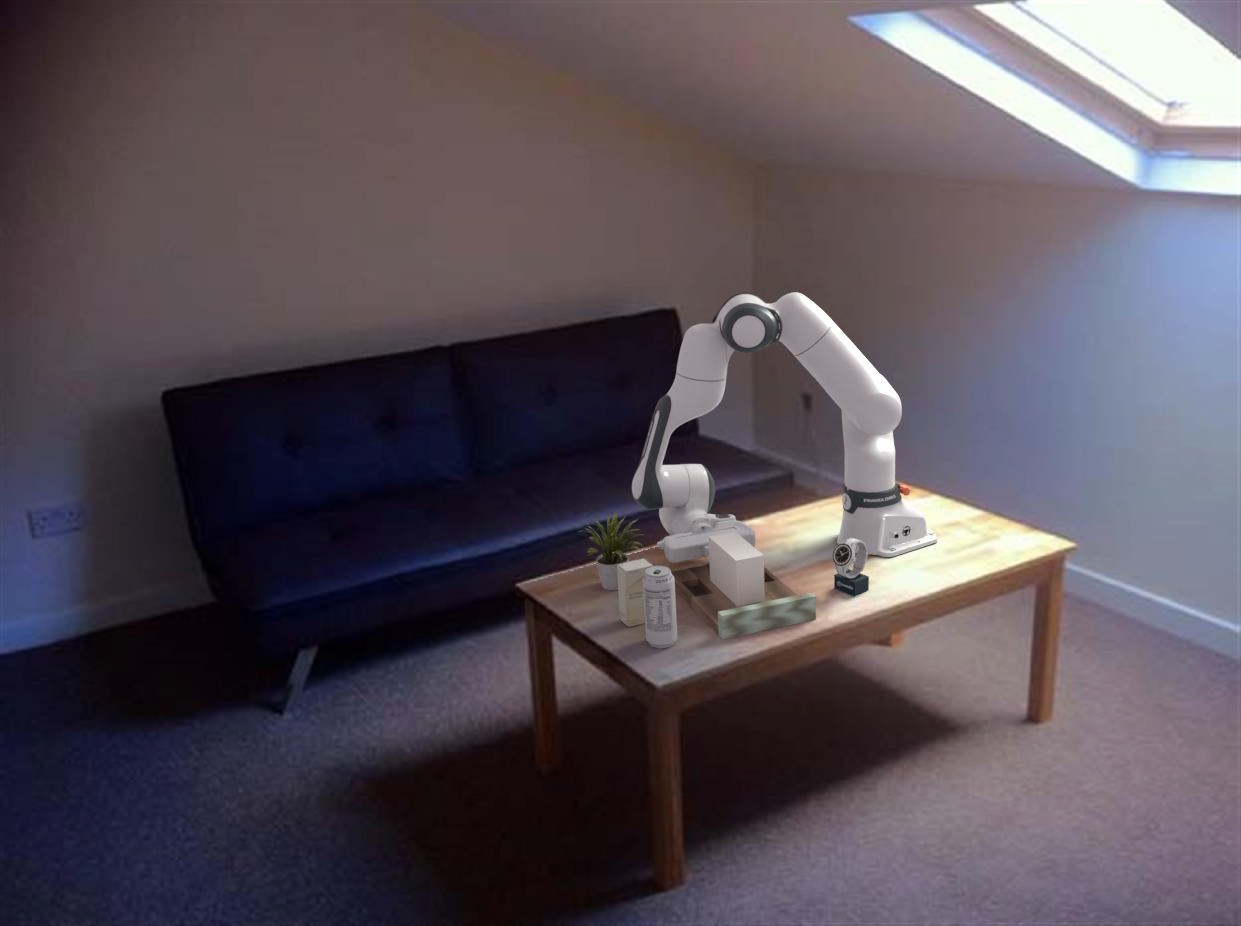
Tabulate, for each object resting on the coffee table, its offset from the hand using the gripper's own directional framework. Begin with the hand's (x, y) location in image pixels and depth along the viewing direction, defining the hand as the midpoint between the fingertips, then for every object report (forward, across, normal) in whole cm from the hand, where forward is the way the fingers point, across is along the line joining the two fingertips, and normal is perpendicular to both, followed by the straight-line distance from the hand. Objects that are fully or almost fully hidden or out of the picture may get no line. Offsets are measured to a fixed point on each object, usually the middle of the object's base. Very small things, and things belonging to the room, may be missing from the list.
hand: (723, 556), depth 234 cm
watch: (+13, +23, +7) cm, 27 cm away
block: (+7, 0, +5) cm, 9 cm away
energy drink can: (+18, -21, +7) cm, 29 cm away
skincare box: (+7, -22, +7) cm, 24 cm away
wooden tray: (+7, 0, +7) cm, 10 cm away
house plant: (-10, -22, +7) cm, 25 cm away
